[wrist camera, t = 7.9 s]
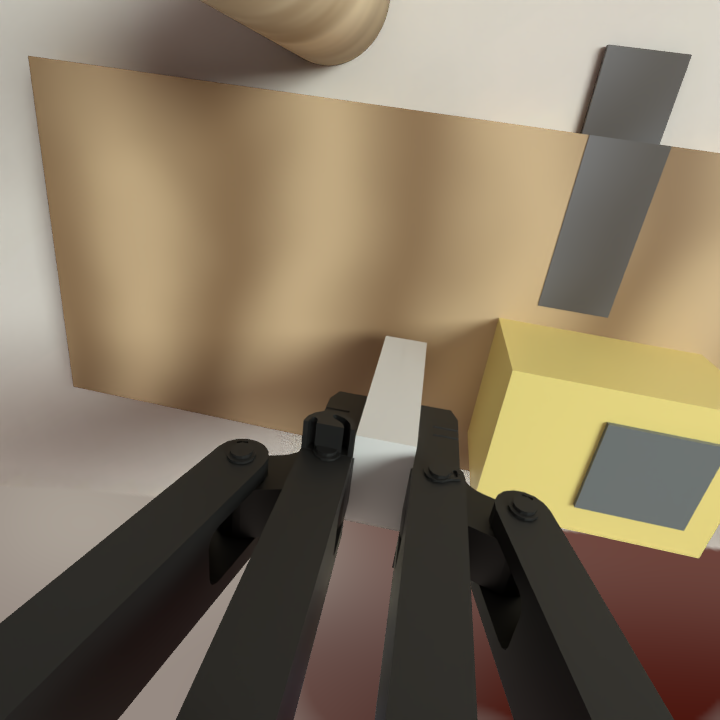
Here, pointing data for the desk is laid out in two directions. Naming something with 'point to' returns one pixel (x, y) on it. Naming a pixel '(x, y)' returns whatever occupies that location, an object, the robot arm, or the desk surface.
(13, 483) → the desk surface
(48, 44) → the desk surface
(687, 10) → the desk surface
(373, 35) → the awl
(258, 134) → the board
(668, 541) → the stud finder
